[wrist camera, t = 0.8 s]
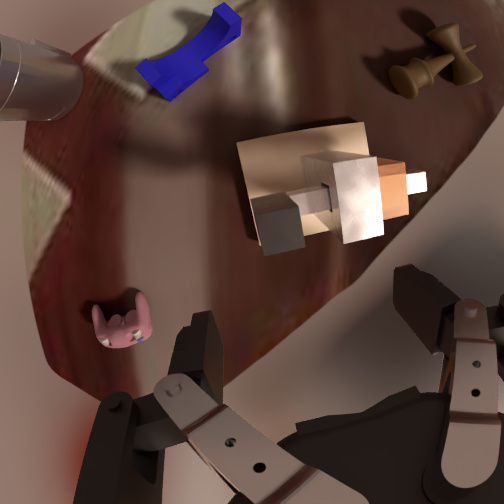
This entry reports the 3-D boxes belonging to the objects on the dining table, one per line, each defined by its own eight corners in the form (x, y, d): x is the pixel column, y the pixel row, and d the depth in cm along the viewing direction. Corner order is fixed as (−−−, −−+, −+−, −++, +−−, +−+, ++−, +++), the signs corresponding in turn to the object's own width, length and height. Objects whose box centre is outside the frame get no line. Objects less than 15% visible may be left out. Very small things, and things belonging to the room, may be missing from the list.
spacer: (355, 161, 28) (377, 166, 23) (380, 157, 28) (404, 162, 23) (361, 207, 30) (382, 219, 25) (385, 202, 30) (408, 214, 25)
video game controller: (106, 317, 43) (103, 355, 38) (90, 303, 40) (85, 343, 35) (157, 303, 43) (157, 344, 38) (142, 287, 39) (140, 330, 35)
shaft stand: (236, 142, 34) (237, 142, 21) (358, 122, 33) (417, 118, 21) (258, 241, 38) (271, 292, 26) (371, 216, 38) (426, 252, 25)
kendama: (370, 57, 30) (450, 22, 26) (404, 116, 34) (476, 71, 30) (390, 48, 25) (471, 15, 21) (428, 116, 28) (500, 70, 24)
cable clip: (171, 101, 31) (159, 94, 26) (149, 78, 30) (134, 68, 24) (247, 44, 29) (250, 27, 24) (225, 21, 28) (224, 2, 22)
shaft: (249, 194, 27) (255, 215, 20) (414, 164, 27) (462, 176, 19) (255, 224, 28) (264, 256, 21) (416, 191, 28) (463, 209, 20)
